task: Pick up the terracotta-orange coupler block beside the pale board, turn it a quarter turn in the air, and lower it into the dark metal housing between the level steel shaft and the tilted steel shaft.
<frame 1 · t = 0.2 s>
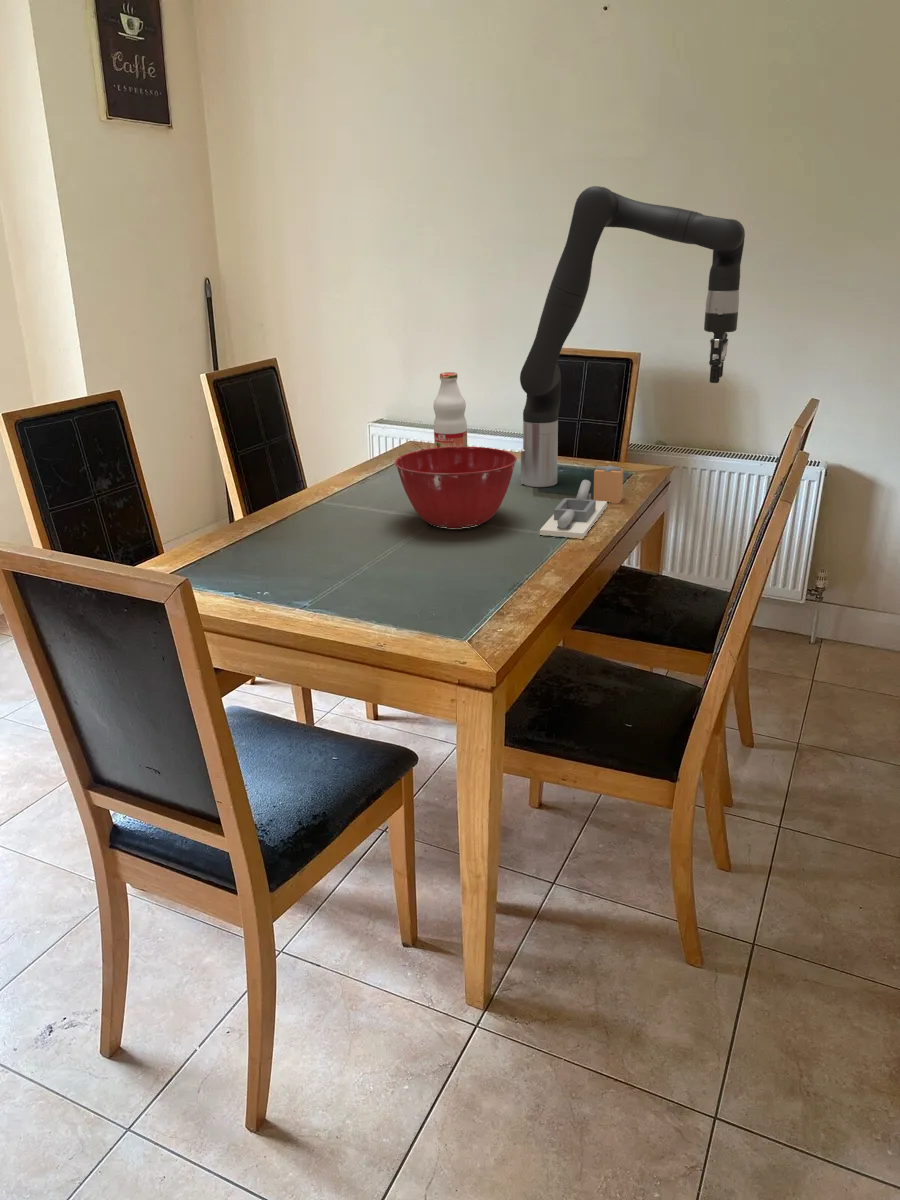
hand: (715, 379, 220), 29 cm above the table, tool pointing down, fingers open, 8 cm apart
coupler: (607, 500, 229), on the table
shaft rig: (574, 521, 214), on the table
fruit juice: (451, 472, 261), on the table
mixing bowl: (457, 522, 217), on the table
ammunition clip: (446, 487, 246), on the table
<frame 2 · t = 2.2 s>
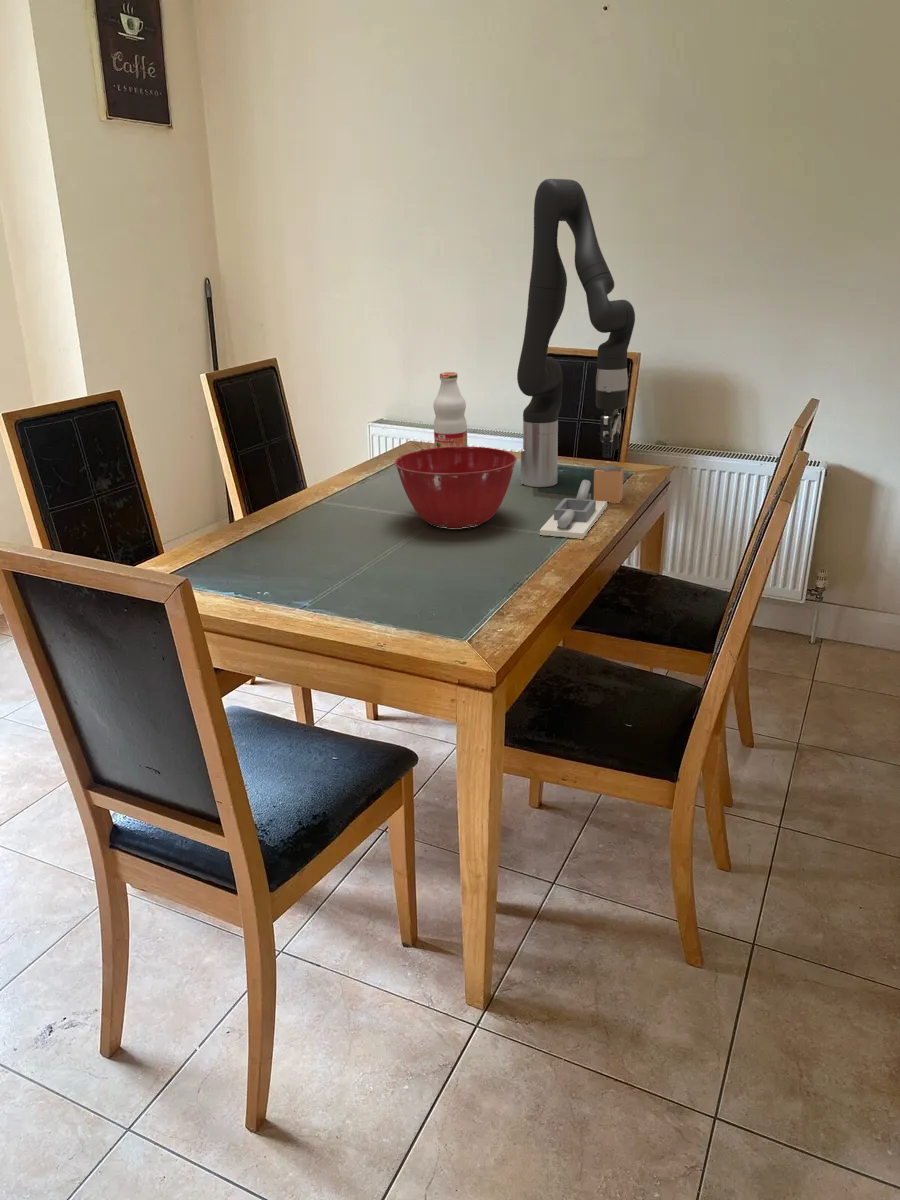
hand: (610, 453, 224), 12 cm above the table, tool pointing down, fingers open, 8 cm apart
nothing on the table moved.
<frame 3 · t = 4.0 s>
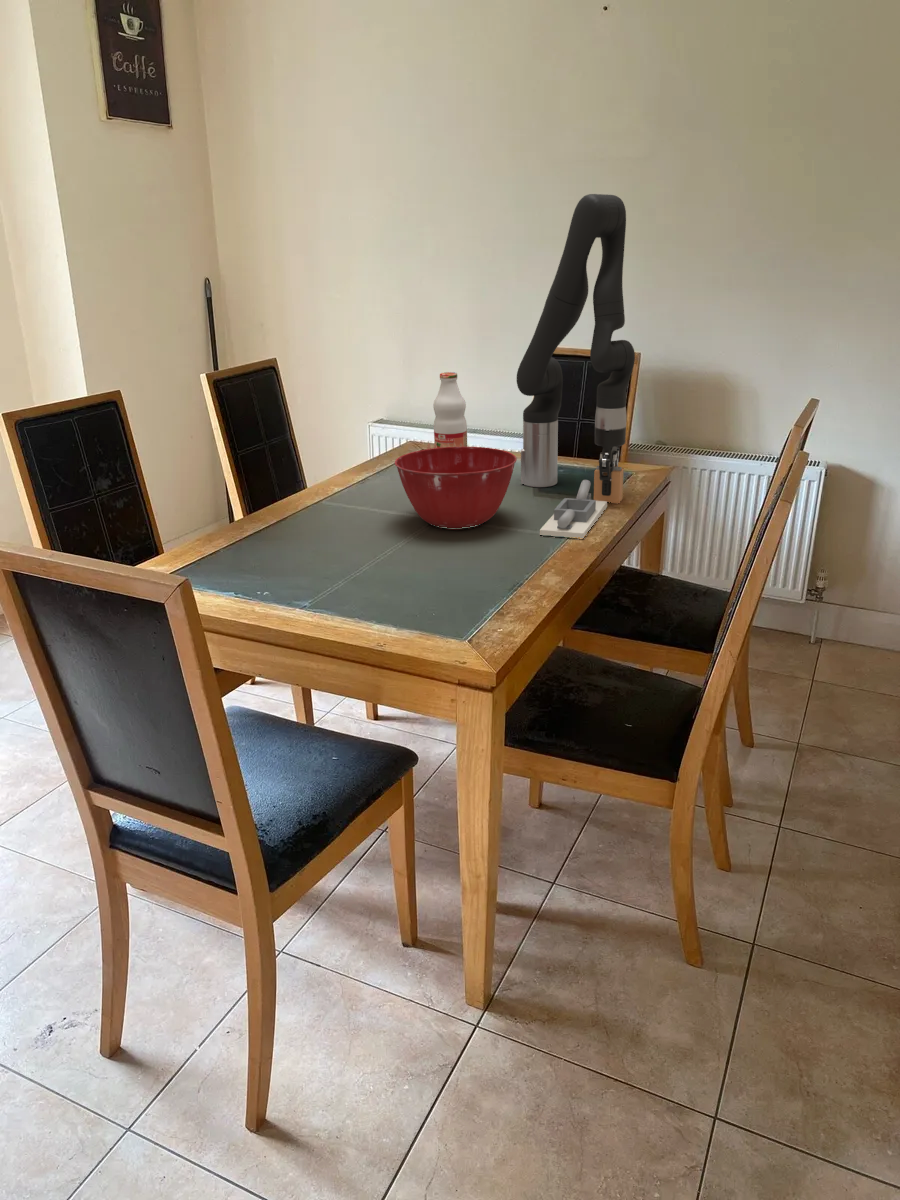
hand: (608, 492, 228), 2 cm above the table, tool pointing down, fingers closed on coupler, 4 cm apart
coupler: (608, 500, 229), on the table, touching gripper
everything else where it was.
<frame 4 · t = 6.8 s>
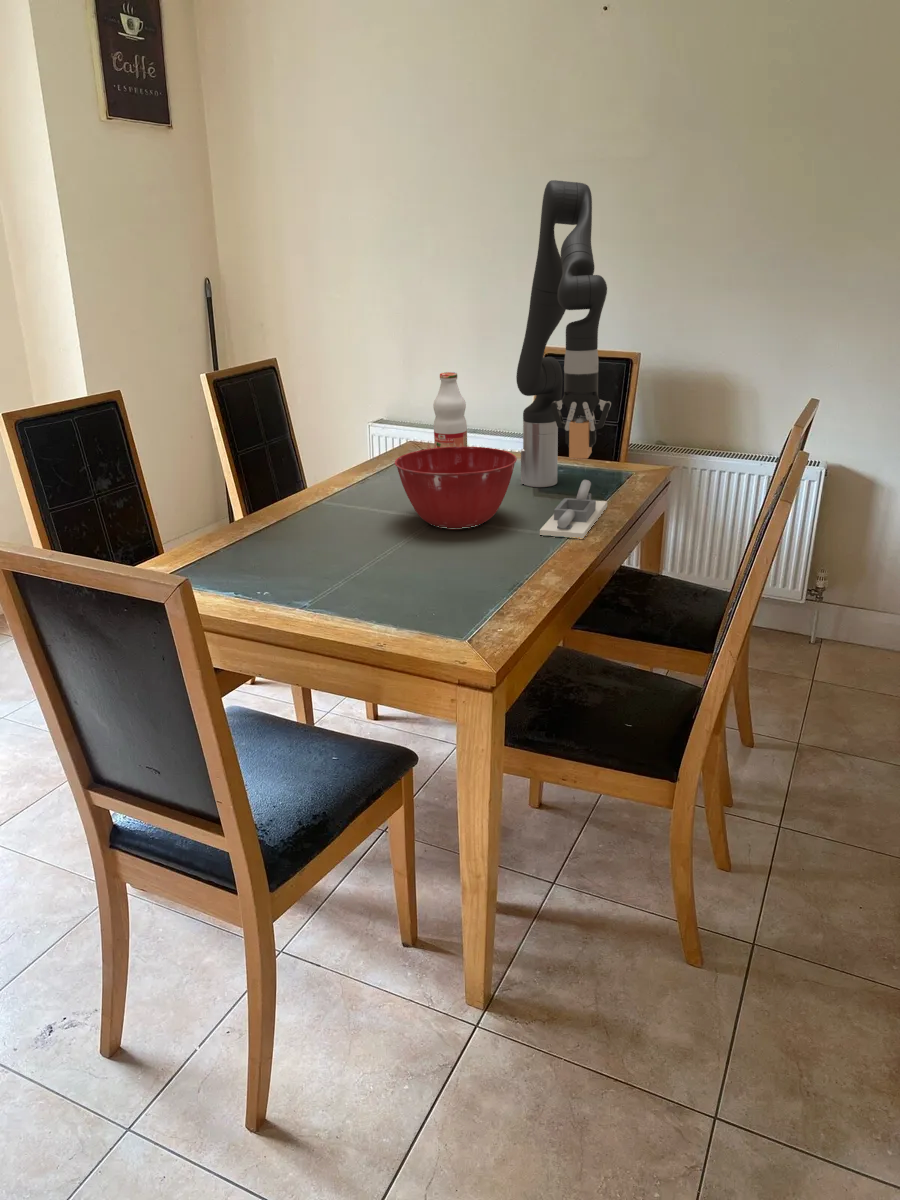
hand: (580, 446, 208), 18 cm above the table, tool pointing down, fingers closed on coupler, 4 cm apart
coupler: (580, 455, 208), point 16 cm above the table, touching gripper
everything else where it was.
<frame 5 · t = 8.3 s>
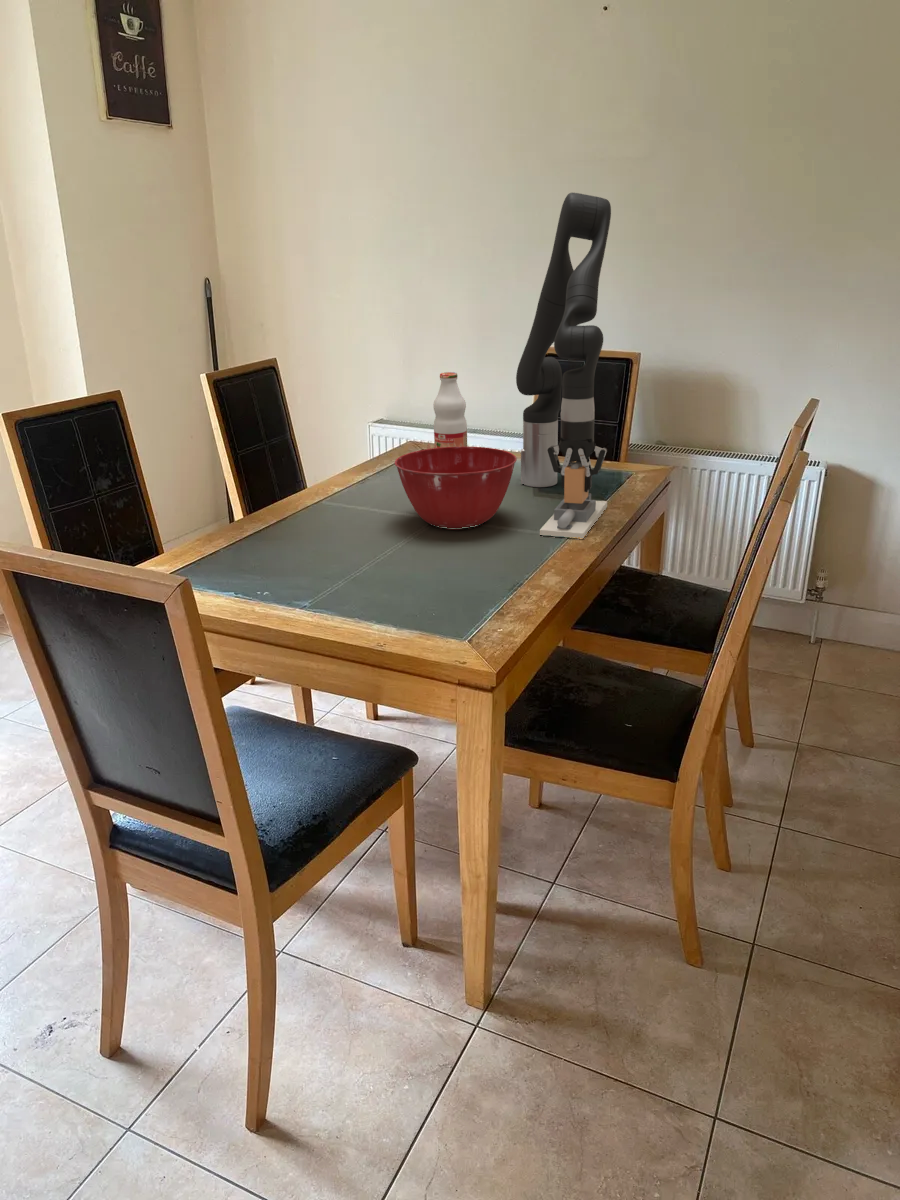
hand: (576, 490, 211), 7 cm above the table, tool pointing down, fingers closed on coupler, 4 cm apart
coupler: (576, 499, 211), point 5 cm above the table, touching gripper
everything else where it was.
when the fingers open (5 cm above the table, at t = 9.6 s): coupler drops 1 cm, resting on shaft rig.
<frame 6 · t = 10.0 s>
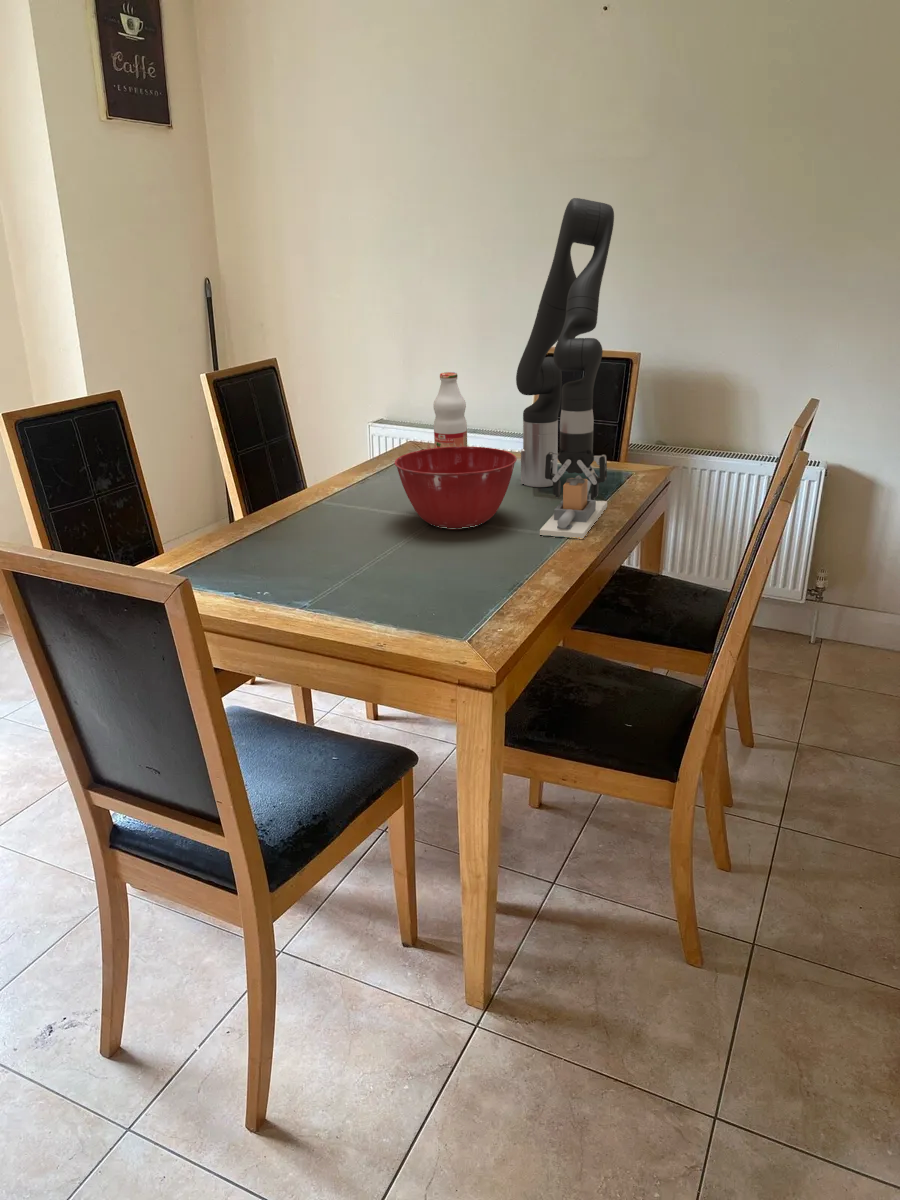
hand: (575, 497, 211), 6 cm above the table, tool pointing down, fingers open, 8 cm apart
coupler: (574, 515, 213), point 1 cm above the table, touching shaft rig
everything else where it was.
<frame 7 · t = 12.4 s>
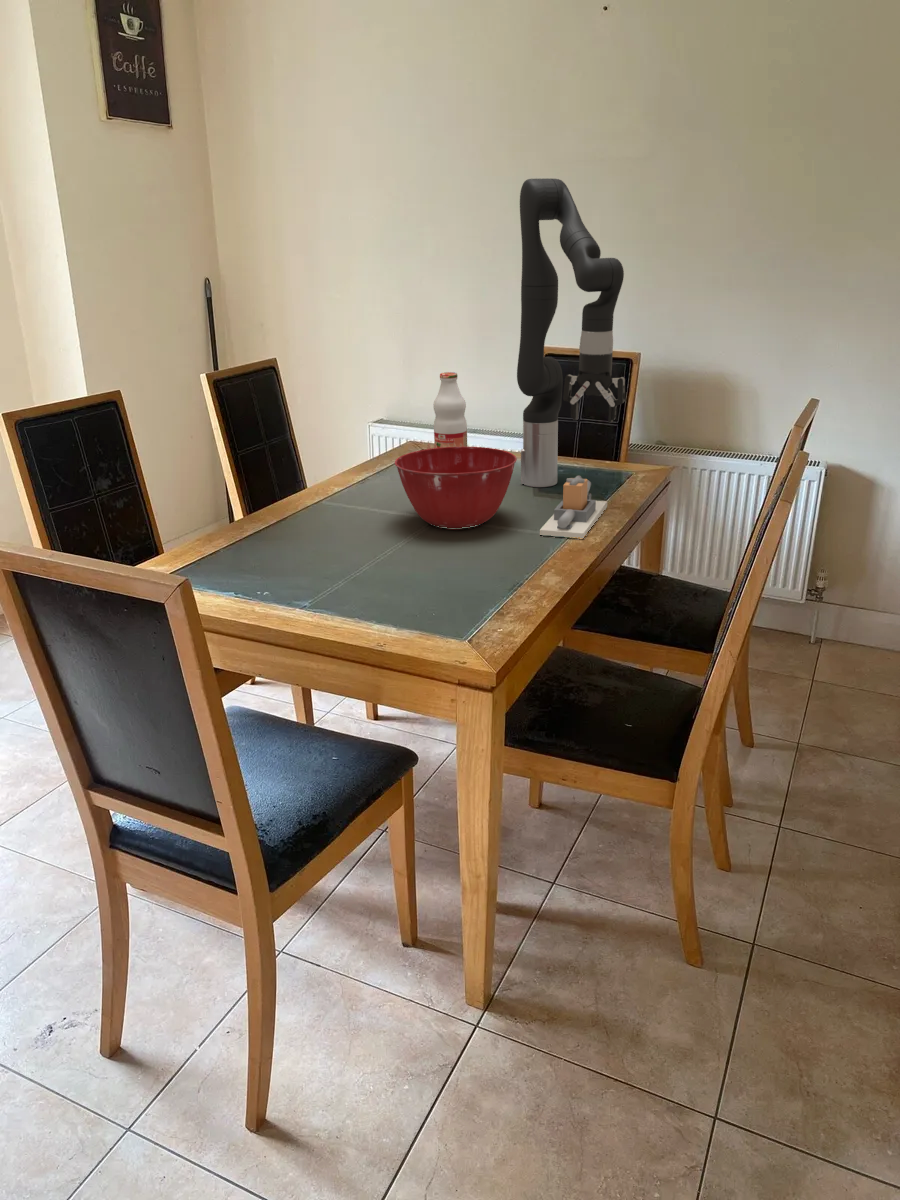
hand: (592, 420, 214), 22 cm above the table, tool pointing down, fingers open, 8 cm apart
nothing on the table moved.
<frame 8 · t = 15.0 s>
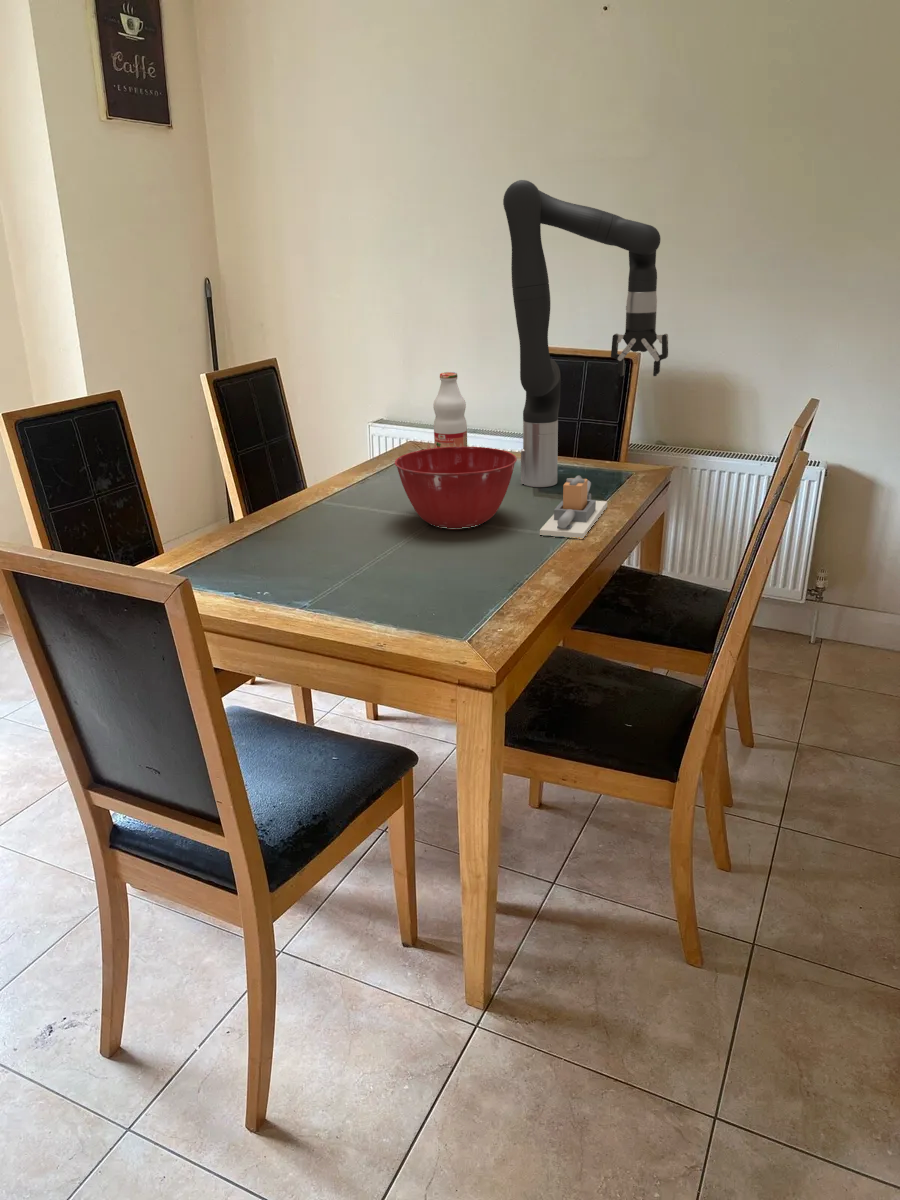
hand: (638, 375, 234), 28 cm above the table, tool pointing down, fingers open, 8 cm apart
nothing on the table moved.
at the end: coupler 0.0 cm off-centre on the shaft rig, point 1.5 cm above the shaft rig's base; coupler tilted 0°; the gripper is holding nothing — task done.
